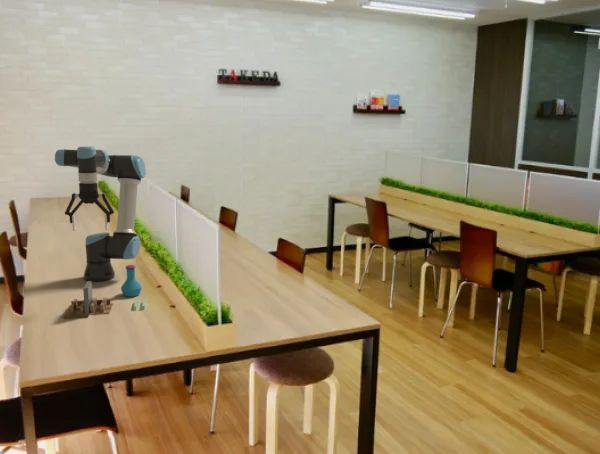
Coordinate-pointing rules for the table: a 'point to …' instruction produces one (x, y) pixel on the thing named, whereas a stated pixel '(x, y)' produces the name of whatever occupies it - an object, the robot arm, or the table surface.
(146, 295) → the table surface
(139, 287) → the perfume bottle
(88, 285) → the thick grey slab
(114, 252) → the robot arm
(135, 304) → the stand
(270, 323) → the table surface
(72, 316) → the rack
